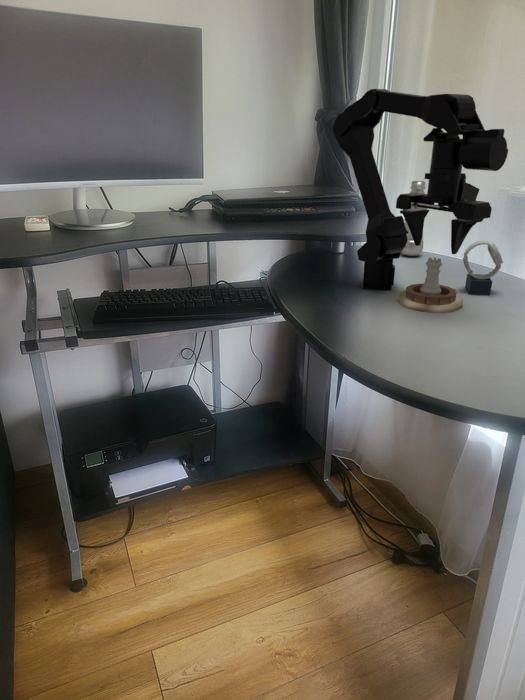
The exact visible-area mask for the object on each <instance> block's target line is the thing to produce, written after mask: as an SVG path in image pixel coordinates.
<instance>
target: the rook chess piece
mask: <svg viewBox="0 0 525 700" xmlns="http://www.w3.org/2000/svg"><path fill="white" fill-rule="evenodd" d="M425 266H426V267H427V268H426V269H425V272H426V277H425V279H424V282H423V283H424V284H423V286H422V287H421V289H420V291H421V292H420V293H419V294H424V295H431V296H441V294H440V293H441V288H440V285H441V284H440V283H439V281H440V280H439V275H440V274H441V270H440V268H441V267H442V266H443V263H442V259H441V258H438V257H433V258H432V257H429V258H428V259H427V261H426V262H425Z"/></svg>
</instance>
